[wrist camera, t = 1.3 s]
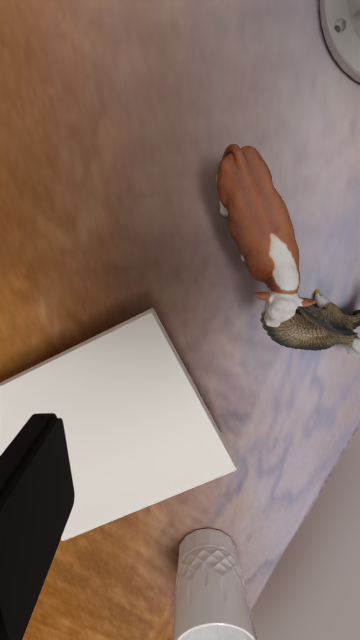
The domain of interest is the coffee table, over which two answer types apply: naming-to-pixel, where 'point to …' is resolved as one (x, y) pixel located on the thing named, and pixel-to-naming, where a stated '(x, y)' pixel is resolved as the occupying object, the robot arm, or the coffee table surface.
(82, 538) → the coffee table surface
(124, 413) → the display shelf
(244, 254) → the bull figurine
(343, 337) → the eagle figurine
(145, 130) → the coffee table surface
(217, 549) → the white cup
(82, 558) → the coffee table surface
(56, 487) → the robot arm
